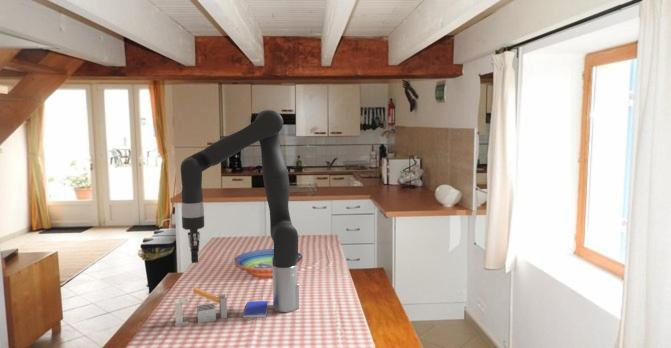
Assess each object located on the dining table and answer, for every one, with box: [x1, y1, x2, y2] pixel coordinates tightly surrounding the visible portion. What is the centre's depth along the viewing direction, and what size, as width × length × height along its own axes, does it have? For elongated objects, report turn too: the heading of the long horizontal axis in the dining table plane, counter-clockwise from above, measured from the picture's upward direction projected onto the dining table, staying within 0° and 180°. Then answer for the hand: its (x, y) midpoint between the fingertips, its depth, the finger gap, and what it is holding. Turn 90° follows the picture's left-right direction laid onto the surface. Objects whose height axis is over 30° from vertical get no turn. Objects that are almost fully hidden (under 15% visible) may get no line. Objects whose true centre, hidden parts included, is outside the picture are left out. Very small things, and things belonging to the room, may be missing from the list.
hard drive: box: [242, 300, 269, 318], centre depth 178 cm, size 2×8×12 cm
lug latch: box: [174, 297, 189, 323], centre depth 165 cm, size 4×4×8 cm
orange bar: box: [192, 287, 221, 304], centre depth 168 cm, size 12×2×2 cm
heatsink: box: [196, 302, 217, 324], centre depth 168 cm, size 6×6×4 cm
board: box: [174, 293, 228, 327], centre depth 168 cm, size 19×15×8 cm
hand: (194, 262), depth 168 cm, fingers closed
